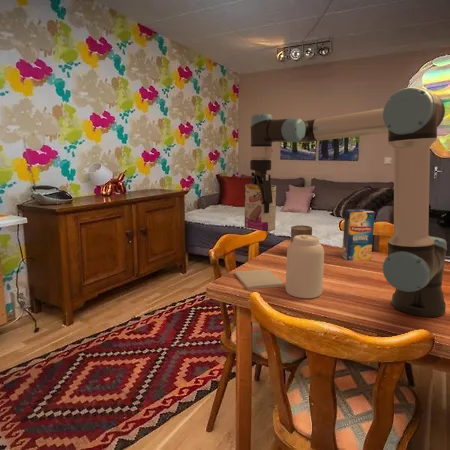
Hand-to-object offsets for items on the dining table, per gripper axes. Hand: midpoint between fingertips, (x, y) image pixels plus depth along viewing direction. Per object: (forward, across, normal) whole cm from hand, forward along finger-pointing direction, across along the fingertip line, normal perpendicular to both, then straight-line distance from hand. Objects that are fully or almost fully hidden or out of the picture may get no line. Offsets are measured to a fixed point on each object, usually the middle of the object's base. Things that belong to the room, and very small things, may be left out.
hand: (259, 218), depth 137 cm
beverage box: (+24, +16, -53) cm, 60 cm away
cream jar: (+24, -16, -11) cm, 31 cm away
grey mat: (+24, 0, 0) cm, 24 cm away
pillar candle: (+24, +26, -30) cm, 47 cm away
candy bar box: (+4, 0, 0) cm, 4 cm away
